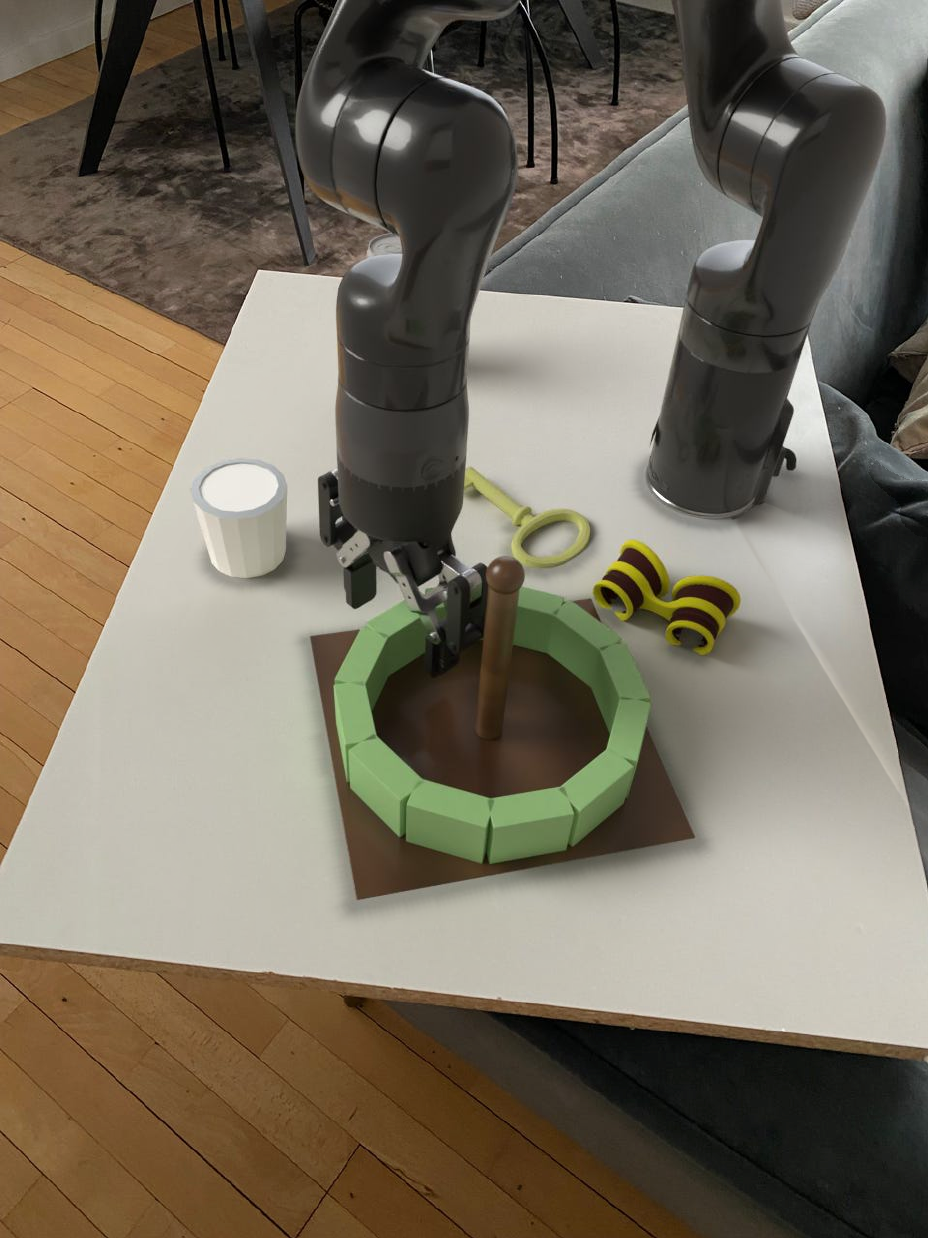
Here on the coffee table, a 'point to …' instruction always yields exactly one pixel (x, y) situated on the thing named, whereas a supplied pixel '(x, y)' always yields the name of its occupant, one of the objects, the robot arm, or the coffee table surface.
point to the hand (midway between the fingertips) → (399, 634)
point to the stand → (488, 747)
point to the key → (530, 522)
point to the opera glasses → (648, 580)
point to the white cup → (242, 515)
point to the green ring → (468, 817)
